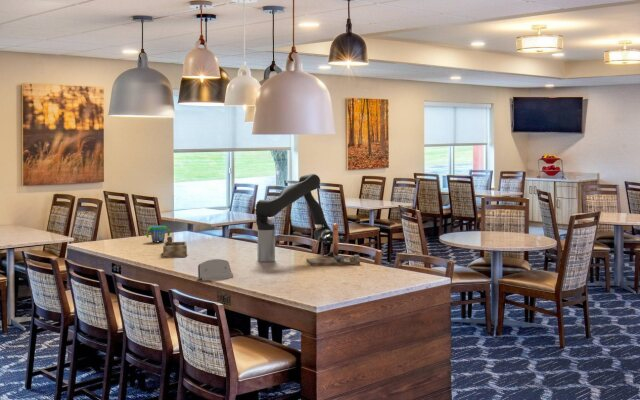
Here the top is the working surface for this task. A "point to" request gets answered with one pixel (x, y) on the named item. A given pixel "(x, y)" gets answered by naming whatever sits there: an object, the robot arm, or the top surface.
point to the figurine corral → (175, 249)
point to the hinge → (214, 270)
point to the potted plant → (157, 232)
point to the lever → (336, 243)
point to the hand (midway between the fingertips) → (334, 240)
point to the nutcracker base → (333, 261)
